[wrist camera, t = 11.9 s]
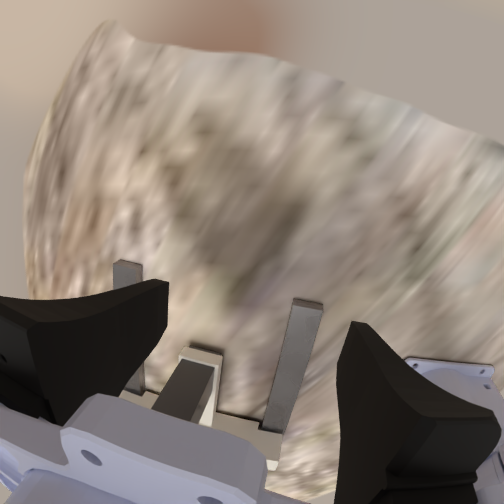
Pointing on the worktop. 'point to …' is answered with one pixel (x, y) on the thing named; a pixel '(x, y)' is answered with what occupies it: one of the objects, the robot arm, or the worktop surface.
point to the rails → (290, 362)
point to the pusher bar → (205, 401)
